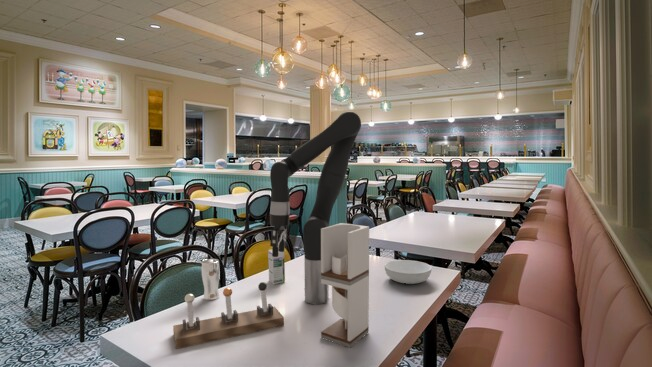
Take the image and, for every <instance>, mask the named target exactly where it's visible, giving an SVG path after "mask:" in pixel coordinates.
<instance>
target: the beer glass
mask: <svg viewBox="0 0 652 367" xmlns="http://www.w3.org/2000/svg"><path fill="white" fill-rule="evenodd" d="M220 270H221V269H220V260H219V259H218V258H206V259H203V260H202V261H201V279H202V284H203V290H204V292H203V299H204V301H214V300H217V299H219V298H220V293H219V282H220V276H221V275H220V274H221V271H220Z"/></svg>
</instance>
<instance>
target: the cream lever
mask: <svg viewBox="0 0 652 367" xmlns="http://www.w3.org/2000/svg"><path fill="white" fill-rule="evenodd" d="M194 301H195V295H194V294H193V293H187V294H186V295H185V296H184V302H185V303H186V304H187V318H188V321H186V323H187V329H190V328H196V322H195V321H196V319H194V308H193V307H194V306H193V302H194Z"/></svg>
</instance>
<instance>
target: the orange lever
mask: <svg viewBox="0 0 652 367" xmlns="http://www.w3.org/2000/svg"><path fill="white" fill-rule="evenodd" d="M222 294H223V296H224V298H225V306H226V307H225V308H226V314H225V316H226V321H231V320H234V312H232V311H233V310H232V309H233V308H232V299H231V298H232V297H231V296H232V294H233V290H232V288H231V287H225V288H224V289H223V291H222Z"/></svg>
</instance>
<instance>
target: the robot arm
mask: <svg viewBox="0 0 652 367" xmlns="http://www.w3.org/2000/svg"><path fill="white" fill-rule="evenodd" d="M361 128H362V120H361V118H360V116H359V115H358V114H357V112H355V111H351V110H349V111H348V110H347V111H344V112H342V113H340V115H339V116H338V117H337V118H336V119H335V120H334V121H333V122H332V123H331V124H330V125H328V126H327V127H326V128H325V129H324V130H323V131H321V132H320V133H319V134H316V136H314V137H313V138H310V139H309V140H308V141H307V142H305V143H304V144H302V145H300V146H299V147H297V148H296V149H294V150H293V151H292V152H291V153H290V154H289V155H288V156H287V157H286V158H284V159H283V160H281V161H276V162H274V163H273V164H272V165H271V167H270V171H269V174H270V175H269V176H270V177H269V178H270V185H271V186H270V187H271V197H270V198H271V200H270V207H269V208H270V212H269V225H271V226H273V229H272V230H270V245H269V246H270V247H272V249H271V250H272V256H273V257H278V252H284V253H285V248H286V247H285V246H286V244H285V243H286V241H287V239H288V226H289V225H290V213H291V212H290V210H291V209H290V208H291V205H290V195H291V192H290V188H289V178H290V177H292V176H293V175H294V174H295V173H297V171H299V170H300V169H301V168H303V167H305V166H306V165H308V164H310V163H311V162H312V161H314V160H315V159H316V158H318V157H319V156H320V155H321V154H323V153H324V152H325V151H327V150H328V149H329V148H330V151H329V154H328V155H327V156H326V159H325V161H324V164H323V166H322V170H321V172H320V177H319V179H318V184H317V190H316V197H315V201H314V205H313V206H312V207H313V208H312V210H311V213H310V215H309V217H308V219H307V221H306V222H305V223H304V225H303V231H302V233H303V234H302V236H303V237H302V241H303V253H304V255H303V256H304V302H305V303H307V304H309V305H310V304H311V305H322V304H328V303H329V296H330V295H329V294H330V293H329V287H330V285H326V284H322V283H321V229H322V228H325V227H329V226H330V220H331V216H332V211H333V208H334V206H335V203H336V201H337V199H338V196H339V195H340V192H341V190H342V187H343V185H344V181H345V178H346V175H347V172H348V167H349V162H350V155H351V153H352V152H351V151H352V148H353V146H354V143H355V141H356V138H357V136H358V134H359V133H360V130H361Z"/></svg>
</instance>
